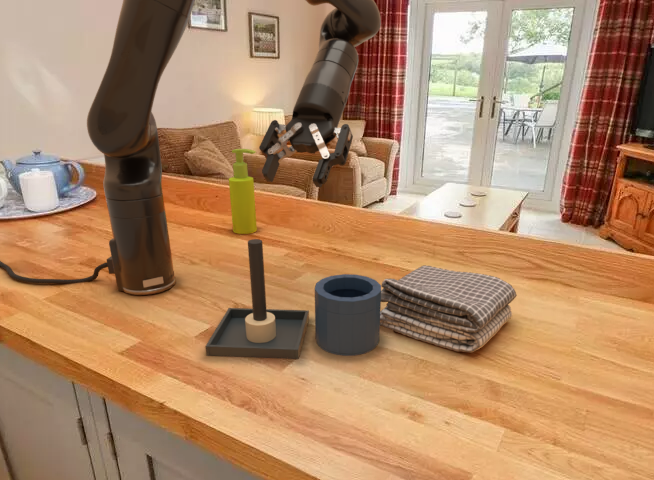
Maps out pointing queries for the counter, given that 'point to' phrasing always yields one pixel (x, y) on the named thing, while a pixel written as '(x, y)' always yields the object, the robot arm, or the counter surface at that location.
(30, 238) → the counter surface
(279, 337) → the tray
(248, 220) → the soap dispenser
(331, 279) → the dark gray pen holder
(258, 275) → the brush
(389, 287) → the towel
